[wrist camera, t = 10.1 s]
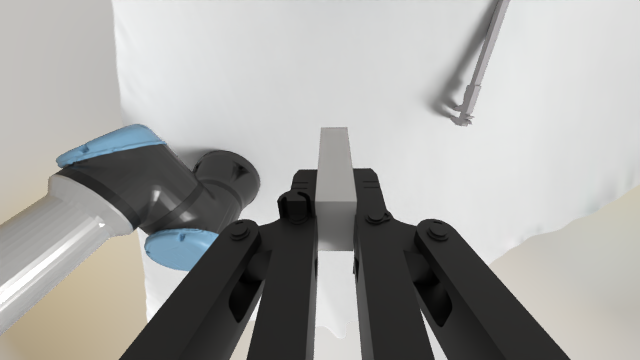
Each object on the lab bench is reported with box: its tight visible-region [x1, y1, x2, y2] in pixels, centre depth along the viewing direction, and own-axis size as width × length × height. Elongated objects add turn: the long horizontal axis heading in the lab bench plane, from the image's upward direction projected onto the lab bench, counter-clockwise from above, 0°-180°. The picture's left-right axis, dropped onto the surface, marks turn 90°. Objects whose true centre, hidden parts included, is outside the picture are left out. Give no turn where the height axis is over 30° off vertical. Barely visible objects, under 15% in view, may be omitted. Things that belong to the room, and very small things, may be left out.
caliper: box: [450, 0, 510, 126], centre depth 40 cm, size 20×1×6 cm, turn 175°
